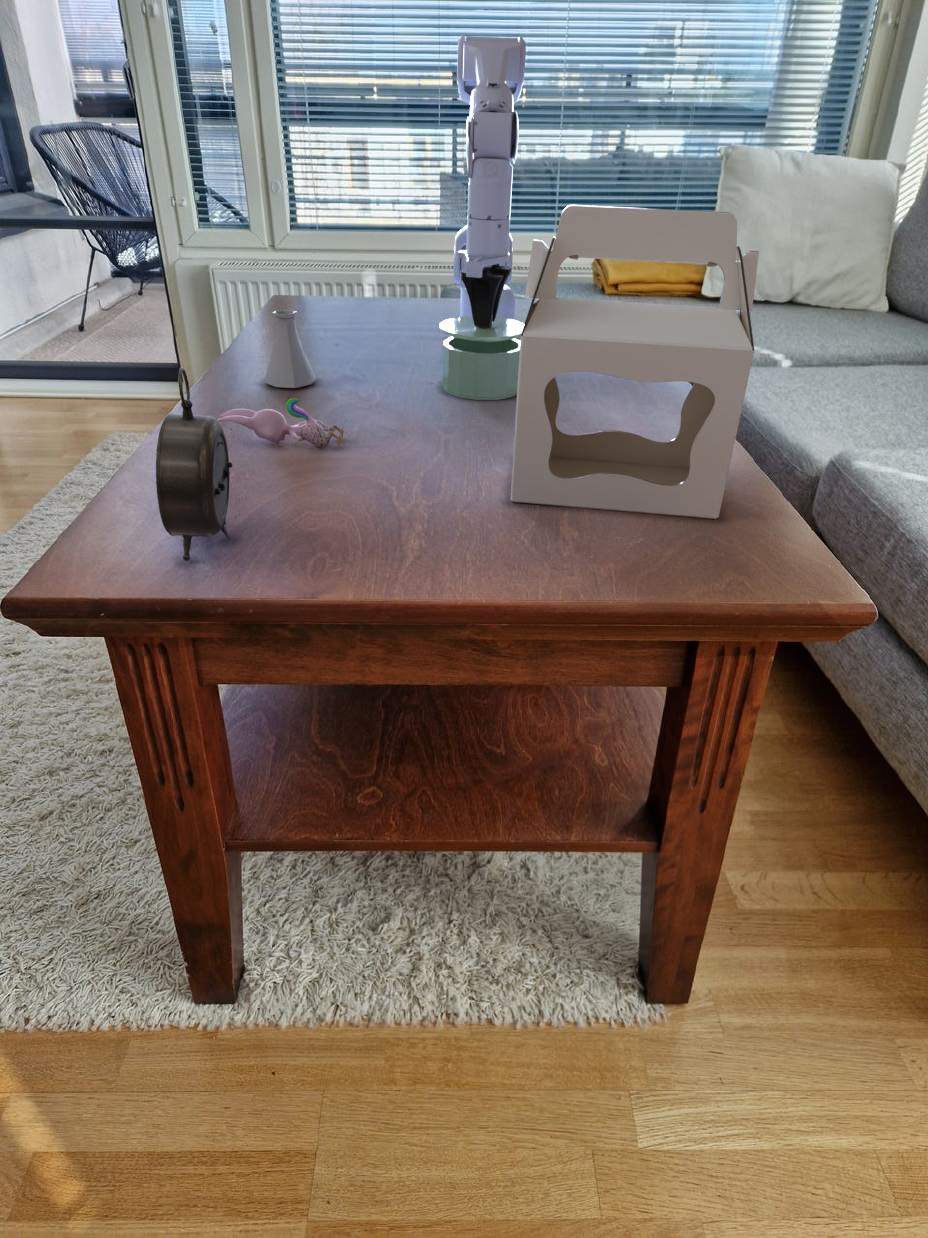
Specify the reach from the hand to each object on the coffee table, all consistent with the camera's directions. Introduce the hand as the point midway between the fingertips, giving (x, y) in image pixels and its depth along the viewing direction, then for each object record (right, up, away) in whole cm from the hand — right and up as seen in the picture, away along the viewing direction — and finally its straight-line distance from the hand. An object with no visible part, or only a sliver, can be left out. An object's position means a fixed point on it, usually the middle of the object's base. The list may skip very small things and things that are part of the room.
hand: (484, 323), depth 117 cm
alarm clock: (-27, -35, -38) cm, 58 cm away
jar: (0, -8, +5) cm, 9 cm away
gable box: (+14, -27, -25) cm, 39 cm away
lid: (0, -1, 0) cm, 1 cm away
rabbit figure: (-25, -21, -16) cm, 36 cm away
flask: (-29, -7, +5) cm, 30 cm away
